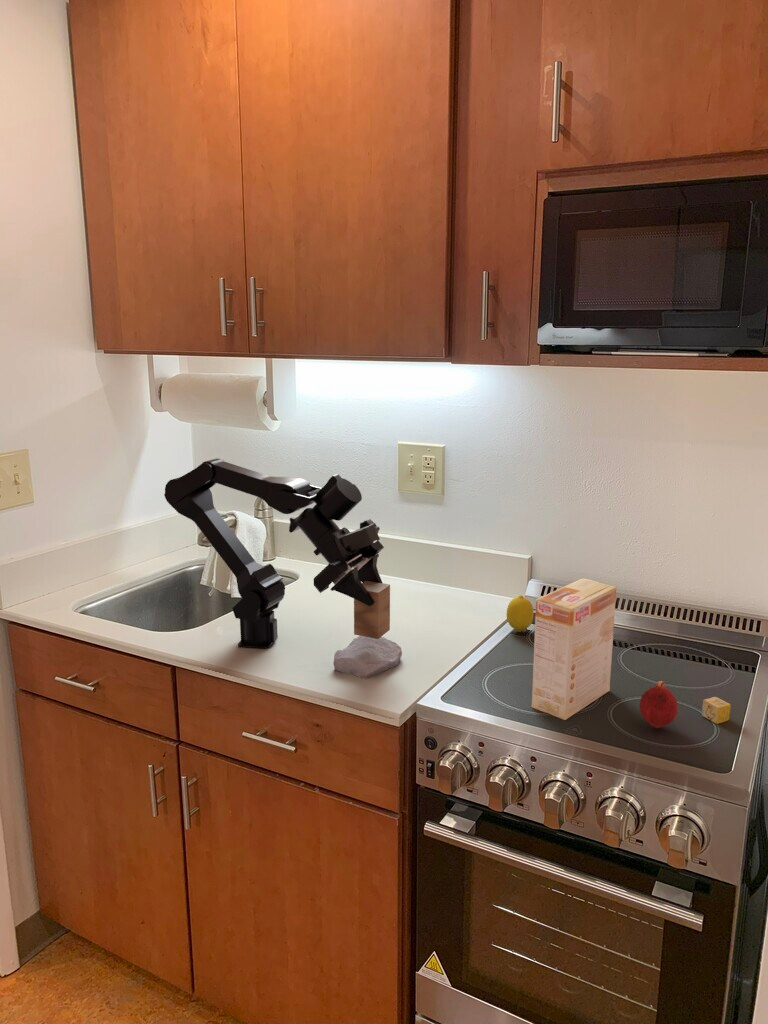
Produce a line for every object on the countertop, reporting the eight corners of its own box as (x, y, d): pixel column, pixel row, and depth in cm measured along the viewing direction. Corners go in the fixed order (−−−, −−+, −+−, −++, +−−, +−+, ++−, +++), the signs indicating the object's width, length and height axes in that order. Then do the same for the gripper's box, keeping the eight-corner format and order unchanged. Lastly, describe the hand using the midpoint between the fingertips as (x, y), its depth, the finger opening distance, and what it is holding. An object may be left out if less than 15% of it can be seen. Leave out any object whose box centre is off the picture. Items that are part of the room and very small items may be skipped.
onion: (675, 740, 127) (679, 692, 125) (636, 733, 129) (640, 686, 127) (676, 722, 132) (680, 677, 130) (639, 716, 134) (643, 671, 132)
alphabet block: (714, 712, 136) (715, 695, 135) (729, 720, 133) (731, 703, 132) (701, 716, 134) (702, 699, 134) (716, 724, 132) (718, 707, 131)
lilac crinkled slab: (405, 667, 157) (361, 647, 162) (409, 645, 156) (365, 626, 160) (373, 693, 148) (328, 671, 152) (377, 671, 146) (331, 649, 150)
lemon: (518, 639, 166) (520, 602, 164) (500, 630, 170) (501, 594, 168) (538, 633, 169) (540, 596, 167) (520, 624, 173) (521, 589, 171)
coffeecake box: (575, 678, 148) (582, 576, 143) (611, 691, 143) (619, 586, 138) (529, 707, 137) (534, 598, 133) (565, 721, 133) (572, 608, 128)
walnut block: (354, 634, 151) (353, 588, 149) (366, 625, 155) (365, 580, 153) (378, 639, 149) (378, 592, 147) (389, 629, 153) (390, 584, 151)
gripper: (327, 520, 140) (385, 590, 138) (374, 498, 156) (426, 560, 155) (289, 558, 145) (344, 626, 143) (338, 533, 162) (389, 593, 160)
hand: (378, 600), depth 150 cm, fingers closed on walnut block, 5 cm apart
